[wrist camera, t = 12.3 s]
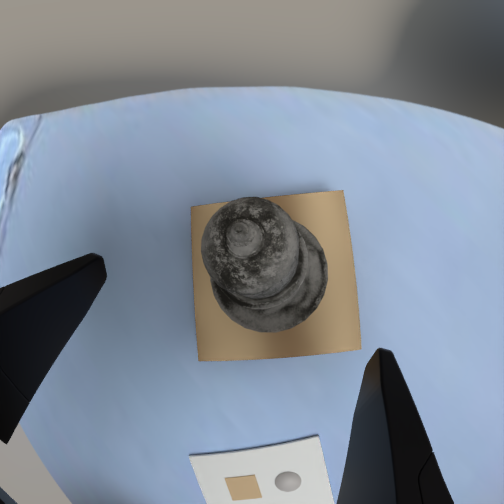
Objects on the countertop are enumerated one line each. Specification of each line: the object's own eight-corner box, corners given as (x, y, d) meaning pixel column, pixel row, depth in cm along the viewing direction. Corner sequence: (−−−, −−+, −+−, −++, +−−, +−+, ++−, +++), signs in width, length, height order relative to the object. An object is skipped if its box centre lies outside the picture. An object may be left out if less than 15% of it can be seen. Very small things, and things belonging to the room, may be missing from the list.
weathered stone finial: (341, 269, 18) (411, 203, 7) (281, 348, 18) (260, 411, 6) (264, 214, 20) (222, 89, 8) (206, 288, 19) (86, 254, 8)
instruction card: (214, 518, 19) (213, 520, 18) (190, 455, 20) (188, 457, 20) (334, 502, 18) (334, 504, 17) (318, 435, 19) (318, 437, 19)
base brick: (210, 354, 21) (198, 361, 18) (203, 219, 23) (190, 206, 20) (352, 344, 20) (361, 349, 17) (337, 205, 22) (343, 190, 19)
